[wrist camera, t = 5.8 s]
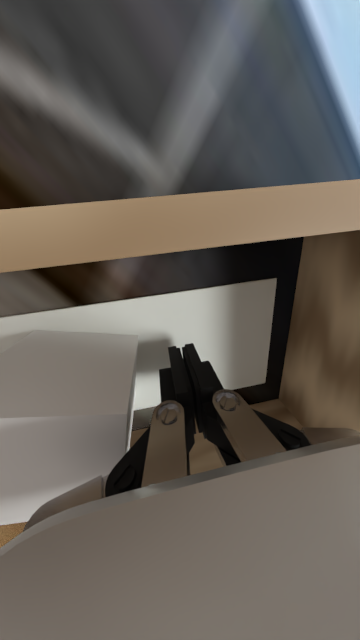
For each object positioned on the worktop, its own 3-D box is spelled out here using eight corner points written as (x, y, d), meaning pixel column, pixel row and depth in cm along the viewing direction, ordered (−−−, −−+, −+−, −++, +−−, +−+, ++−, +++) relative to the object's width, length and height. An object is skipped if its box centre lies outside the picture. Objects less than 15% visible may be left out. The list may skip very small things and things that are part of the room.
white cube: (48, 405, 12) (-36, 530, 7) (35, 329, 10) (-102, 422, 5) (134, 403, 13) (123, 509, 8) (139, 335, 11) (126, 414, 6)
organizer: (0, 244, 9) (-267, 232, 3) (325, 210, 10) (519, 165, 5) (97, 448, 15) (65, 564, 9) (288, 405, 17) (355, 480, 11)
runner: (275, 277, 12) (277, 278, 11) (264, 381, 15) (265, 382, 15) (-187, 343, 9) (-194, 346, 9) (-71, 451, 12) (-74, 454, 12)
